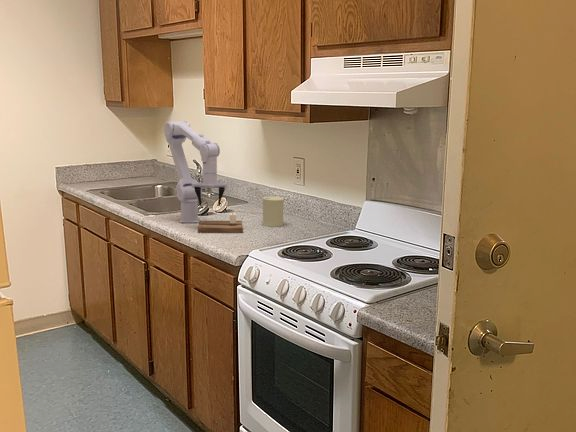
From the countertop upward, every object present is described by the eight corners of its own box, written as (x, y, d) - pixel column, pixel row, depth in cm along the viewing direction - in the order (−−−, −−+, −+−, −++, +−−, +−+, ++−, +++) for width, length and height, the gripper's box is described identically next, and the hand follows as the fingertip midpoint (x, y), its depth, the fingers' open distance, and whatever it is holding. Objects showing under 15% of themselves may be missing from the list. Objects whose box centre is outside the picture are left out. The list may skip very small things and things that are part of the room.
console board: (199, 225, 253) (199, 220, 252) (241, 225, 255) (241, 220, 254) (197, 232, 239) (197, 227, 239) (242, 232, 241) (242, 227, 241)
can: (259, 222, 261) (259, 195, 258) (279, 221, 264) (279, 195, 262) (266, 227, 252) (266, 199, 250) (286, 226, 256) (287, 198, 253)
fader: (229, 222, 249) (229, 212, 248) (235, 222, 249) (235, 212, 249) (229, 224, 244) (229, 215, 244) (235, 224, 245) (235, 215, 244)
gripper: (191, 173, 240) (191, 206, 243) (227, 174, 241) (227, 207, 244) (192, 171, 247) (192, 203, 249) (227, 172, 248) (227, 204, 251)
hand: (209, 205), depth 247 cm, fingers open, 7 cm apart
